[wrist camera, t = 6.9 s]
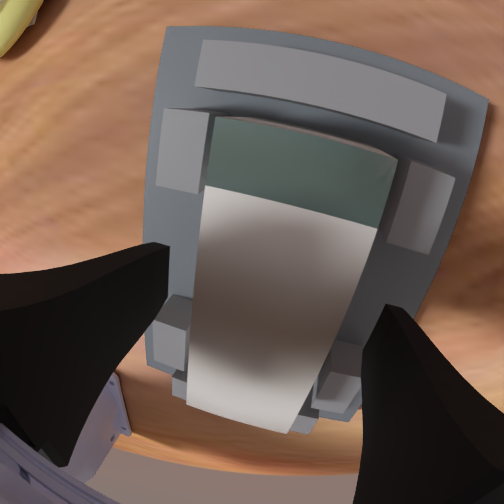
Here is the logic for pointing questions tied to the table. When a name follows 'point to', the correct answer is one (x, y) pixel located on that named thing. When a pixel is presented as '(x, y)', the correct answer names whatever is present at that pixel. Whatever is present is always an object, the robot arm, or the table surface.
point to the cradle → (322, 119)
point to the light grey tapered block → (277, 263)
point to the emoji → (15, 20)
